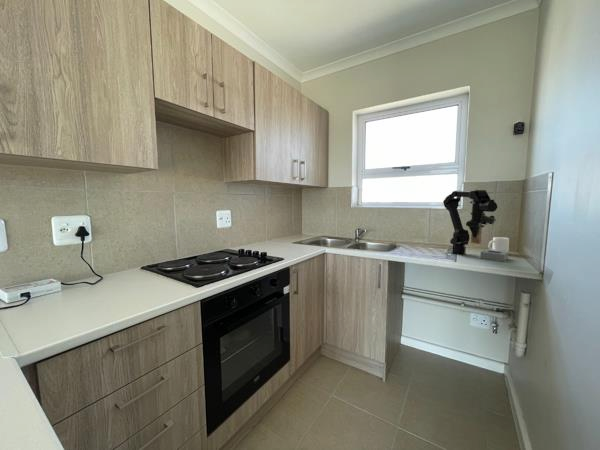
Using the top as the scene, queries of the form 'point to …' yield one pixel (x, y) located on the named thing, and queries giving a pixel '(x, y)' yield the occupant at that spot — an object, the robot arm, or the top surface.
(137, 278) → the top surface
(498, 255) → the well block
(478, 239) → the walnut post
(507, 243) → the mug
